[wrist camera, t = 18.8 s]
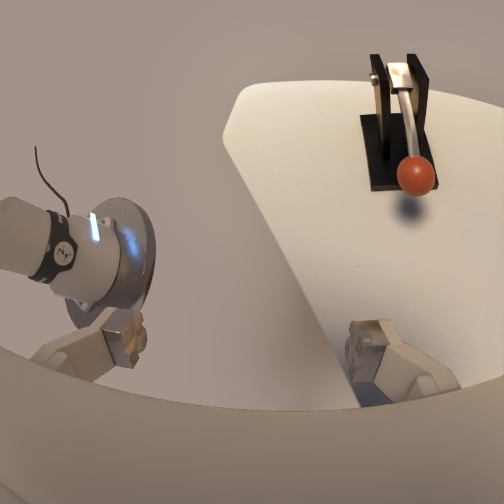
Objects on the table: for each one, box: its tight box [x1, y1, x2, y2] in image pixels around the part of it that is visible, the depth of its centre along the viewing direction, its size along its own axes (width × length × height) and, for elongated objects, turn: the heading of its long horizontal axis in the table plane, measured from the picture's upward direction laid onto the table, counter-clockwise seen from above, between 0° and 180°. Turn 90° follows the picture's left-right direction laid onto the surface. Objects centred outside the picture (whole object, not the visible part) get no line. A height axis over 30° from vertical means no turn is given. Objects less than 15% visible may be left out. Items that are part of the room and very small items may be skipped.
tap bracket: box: [360, 54, 439, 191], centre depth 25 cm, size 12×9×15 cm
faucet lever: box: [386, 63, 435, 196], centre depth 22 cm, size 13×4×4 cm, turn 175°
